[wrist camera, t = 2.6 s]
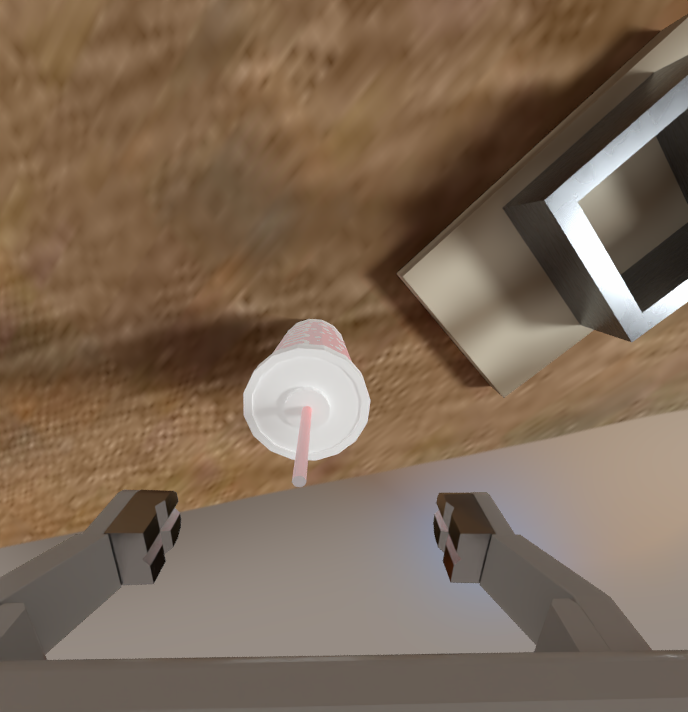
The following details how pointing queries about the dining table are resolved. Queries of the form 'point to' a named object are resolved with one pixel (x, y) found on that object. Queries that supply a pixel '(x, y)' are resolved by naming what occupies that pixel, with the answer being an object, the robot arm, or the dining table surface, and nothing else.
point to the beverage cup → (307, 397)
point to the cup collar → (574, 232)
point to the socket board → (516, 261)
